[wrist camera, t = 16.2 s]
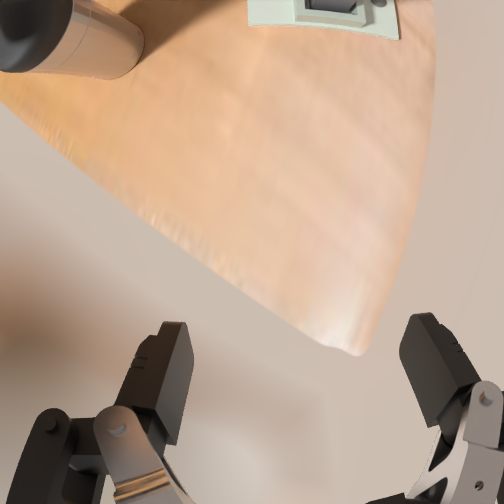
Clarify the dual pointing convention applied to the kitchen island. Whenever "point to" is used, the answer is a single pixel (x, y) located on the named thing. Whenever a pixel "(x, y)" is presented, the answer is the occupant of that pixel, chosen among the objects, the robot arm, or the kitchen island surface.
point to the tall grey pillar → (331, 5)
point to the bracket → (327, 16)
